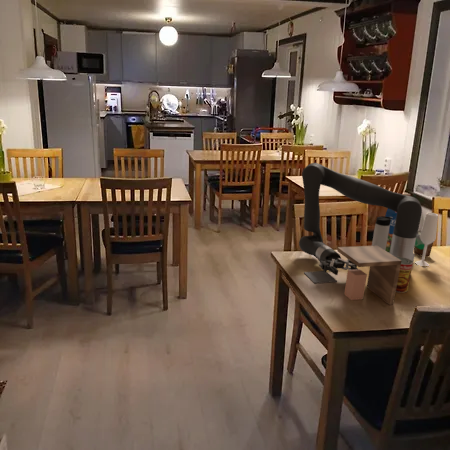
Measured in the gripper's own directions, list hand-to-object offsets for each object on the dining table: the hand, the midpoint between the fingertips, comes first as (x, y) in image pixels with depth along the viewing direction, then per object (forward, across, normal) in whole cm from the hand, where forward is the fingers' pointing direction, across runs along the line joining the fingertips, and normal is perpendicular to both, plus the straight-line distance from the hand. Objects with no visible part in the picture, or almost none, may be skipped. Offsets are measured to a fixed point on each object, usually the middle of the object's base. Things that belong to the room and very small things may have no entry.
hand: (347, 272), depth 176 cm
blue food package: (-35, +46, +7) cm, 58 cm away
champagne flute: (-19, +50, +7) cm, 54 cm away
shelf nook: (+7, +3, +7) cm, 11 cm away
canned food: (+3, +22, +7) cm, 23 cm away
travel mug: (-29, +33, +7) cm, 44 cm away
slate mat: (-11, -5, +7) cm, 14 cm away
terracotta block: (+7, 0, +7) cm, 10 cm away
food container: (-32, +58, +7) cm, 66 cm away
